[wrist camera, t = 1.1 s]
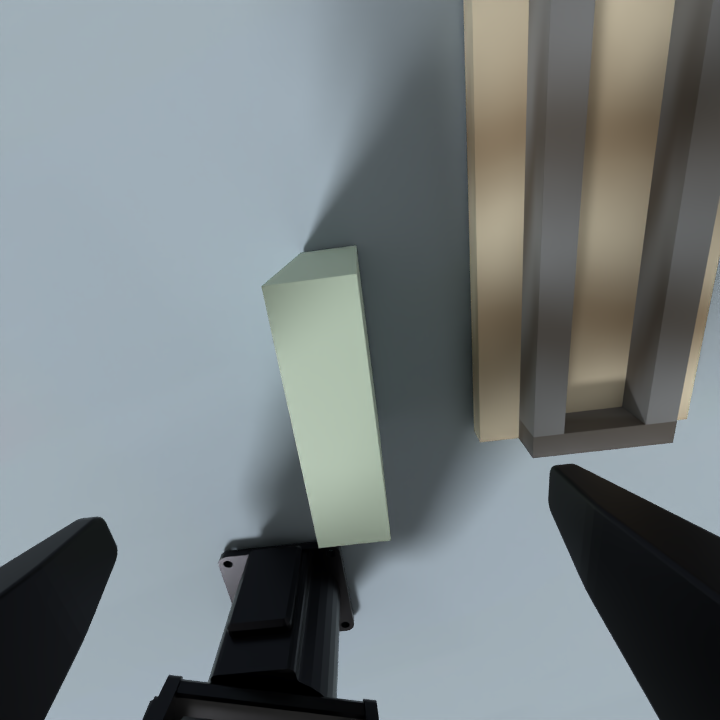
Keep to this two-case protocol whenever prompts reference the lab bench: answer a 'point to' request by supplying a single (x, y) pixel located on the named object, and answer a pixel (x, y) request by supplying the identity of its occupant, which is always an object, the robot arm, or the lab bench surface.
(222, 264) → the lab bench surface
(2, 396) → the lab bench surface
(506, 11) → the track
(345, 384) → the door panel
